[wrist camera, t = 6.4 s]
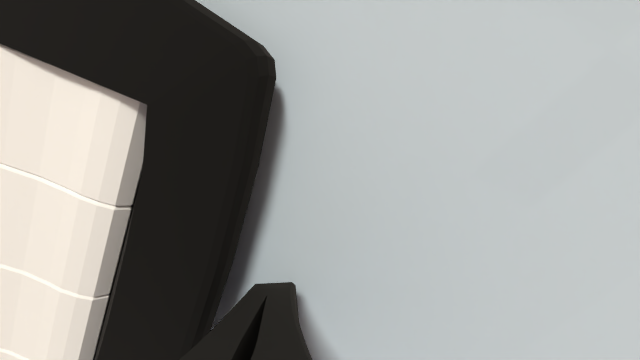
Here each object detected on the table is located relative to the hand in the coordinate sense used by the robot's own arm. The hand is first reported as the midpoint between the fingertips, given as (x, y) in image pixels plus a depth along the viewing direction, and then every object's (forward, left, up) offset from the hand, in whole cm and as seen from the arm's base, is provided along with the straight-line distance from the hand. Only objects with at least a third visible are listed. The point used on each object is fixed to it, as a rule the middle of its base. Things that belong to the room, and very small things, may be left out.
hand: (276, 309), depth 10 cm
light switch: (+2, +9, -2) cm, 9 cm away
